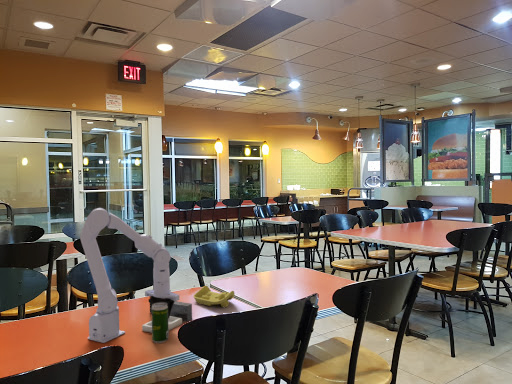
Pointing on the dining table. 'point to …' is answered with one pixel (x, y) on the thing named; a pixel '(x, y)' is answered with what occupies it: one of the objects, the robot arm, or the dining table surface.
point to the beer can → (160, 322)
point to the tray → (172, 324)
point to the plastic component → (213, 297)
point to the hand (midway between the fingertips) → (162, 317)
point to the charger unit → (182, 311)
